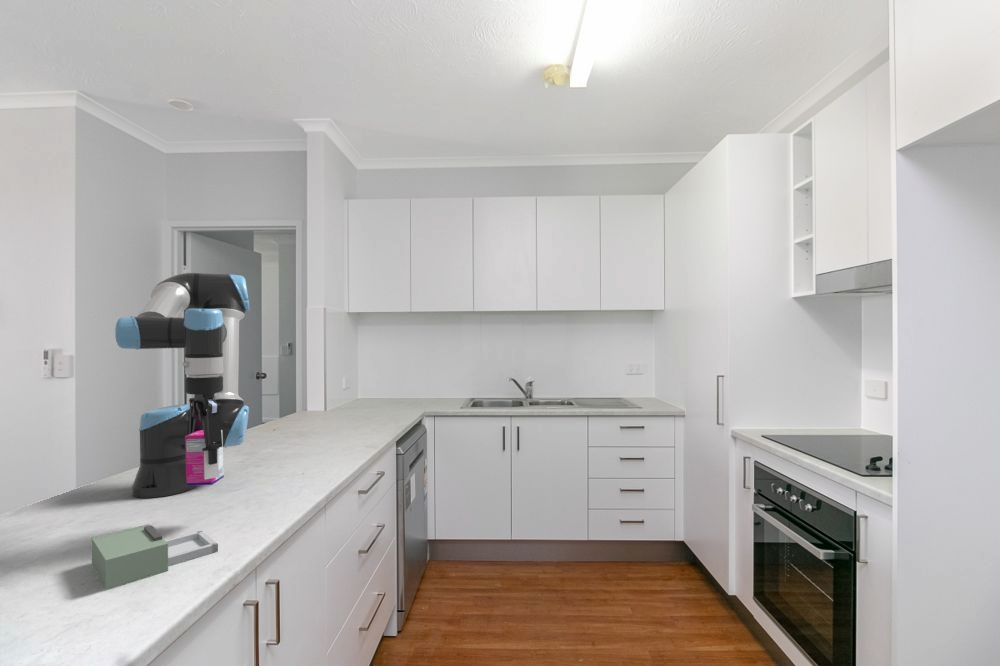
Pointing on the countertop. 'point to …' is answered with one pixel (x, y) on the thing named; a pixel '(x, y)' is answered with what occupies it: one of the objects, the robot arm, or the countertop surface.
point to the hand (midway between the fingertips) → (205, 473)
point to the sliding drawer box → (143, 553)
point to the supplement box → (199, 460)
